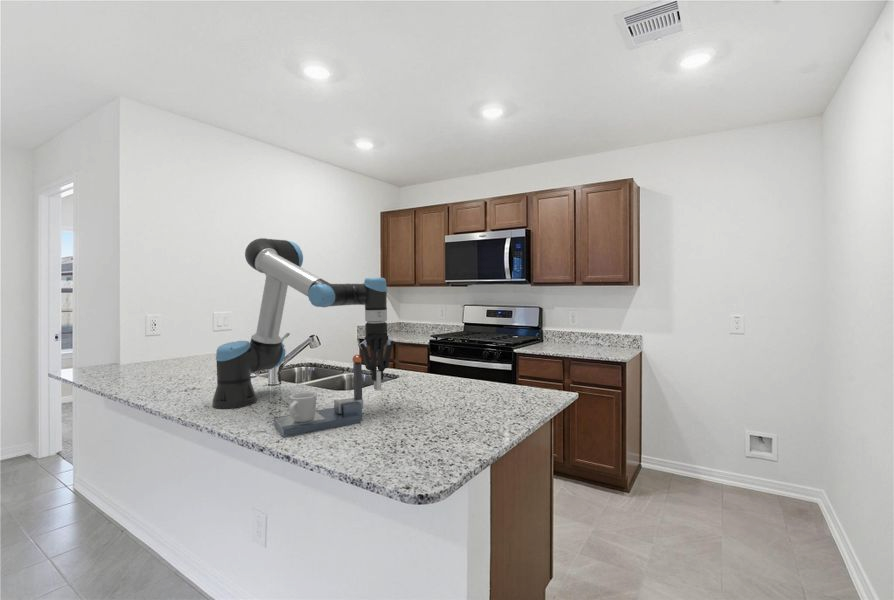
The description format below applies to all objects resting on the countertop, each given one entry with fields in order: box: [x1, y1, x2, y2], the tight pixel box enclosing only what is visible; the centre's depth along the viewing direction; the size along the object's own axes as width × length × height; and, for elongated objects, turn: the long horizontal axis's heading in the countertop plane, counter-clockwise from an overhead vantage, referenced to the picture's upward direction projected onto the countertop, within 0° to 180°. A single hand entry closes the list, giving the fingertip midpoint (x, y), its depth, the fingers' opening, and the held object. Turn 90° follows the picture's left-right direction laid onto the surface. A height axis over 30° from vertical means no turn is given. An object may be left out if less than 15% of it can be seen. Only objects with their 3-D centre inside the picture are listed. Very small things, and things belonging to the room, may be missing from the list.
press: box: [273, 402, 363, 439], centre depth 143 cm, size 14×26×6 cm, turn 122°
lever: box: [333, 354, 364, 414], centre depth 148 cm, size 5×9×18 cm, turn 123°
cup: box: [288, 391, 317, 422], centre depth 136 cm, size 11×8×8 cm
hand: (377, 389), depth 154 cm, fingers closed
